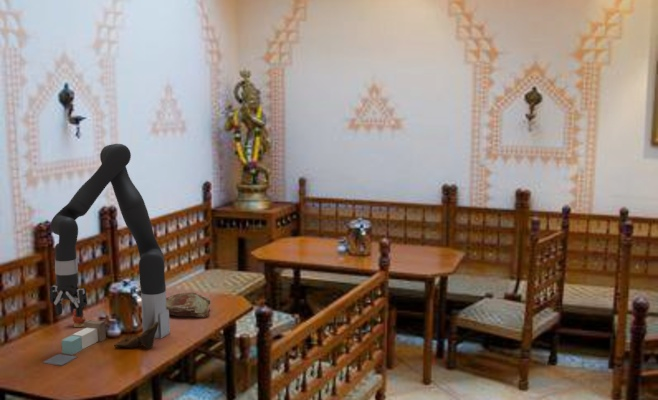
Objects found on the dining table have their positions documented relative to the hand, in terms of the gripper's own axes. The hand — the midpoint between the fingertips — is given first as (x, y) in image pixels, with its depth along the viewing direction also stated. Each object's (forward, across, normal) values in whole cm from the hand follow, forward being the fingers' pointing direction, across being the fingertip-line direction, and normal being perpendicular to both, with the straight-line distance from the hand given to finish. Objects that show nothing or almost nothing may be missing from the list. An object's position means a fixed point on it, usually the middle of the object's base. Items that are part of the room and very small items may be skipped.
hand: (69, 315), depth 258 cm
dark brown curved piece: (+14, -20, -11) cm, 27 cm away
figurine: (+14, +16, -25) cm, 32 cm away
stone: (+14, -16, -53) cm, 57 cm away
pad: (+14, -2, +8) cm, 16 cm away
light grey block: (+14, 0, -9) cm, 16 cm away
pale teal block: (+14, 0, 0) cm, 14 cm away
